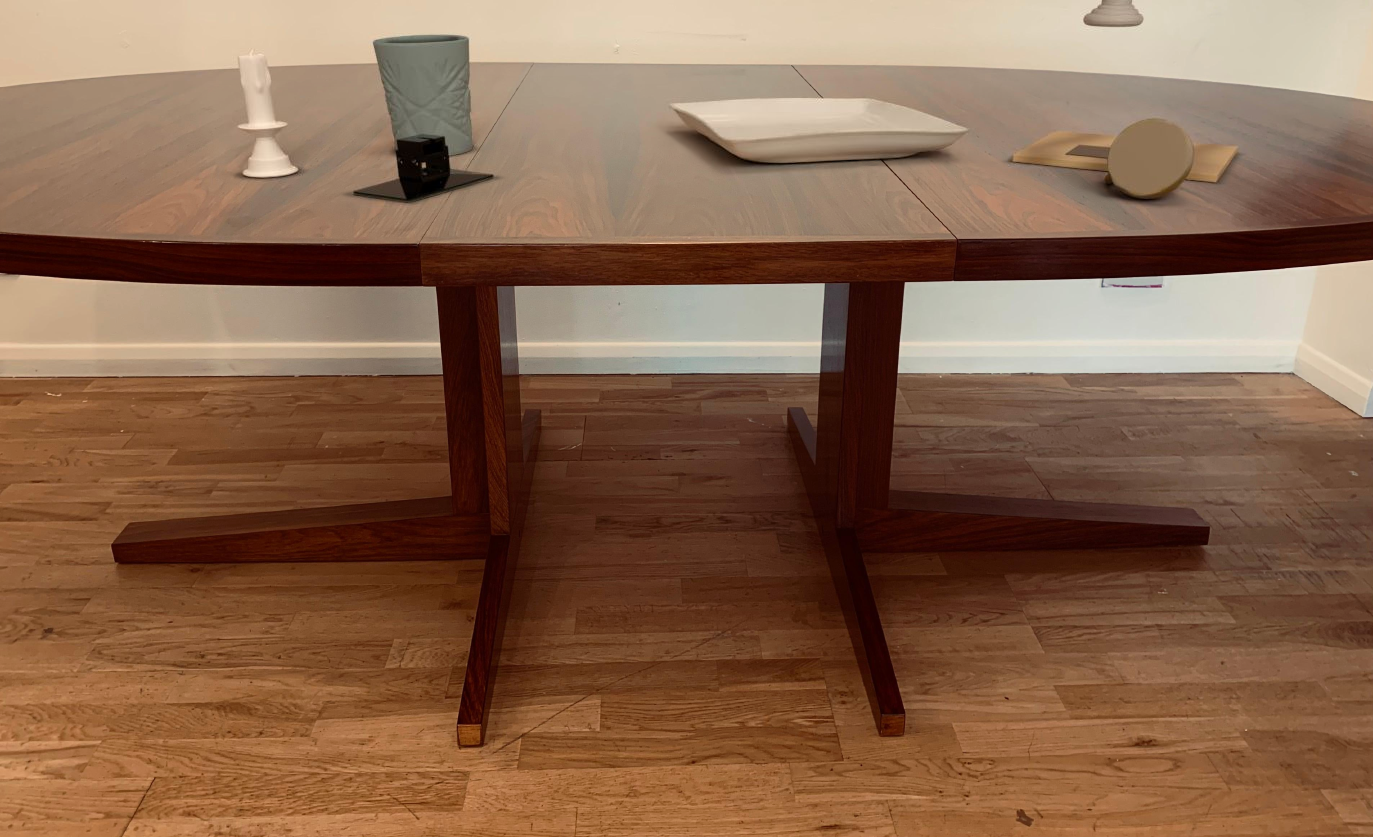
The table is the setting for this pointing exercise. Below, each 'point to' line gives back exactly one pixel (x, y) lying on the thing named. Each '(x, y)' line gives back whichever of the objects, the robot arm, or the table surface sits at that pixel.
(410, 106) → the drinking glass
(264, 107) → the candle
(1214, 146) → the board
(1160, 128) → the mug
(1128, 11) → the chess piece
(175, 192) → the table surface
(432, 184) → the motor on base plate
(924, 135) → the square plate
